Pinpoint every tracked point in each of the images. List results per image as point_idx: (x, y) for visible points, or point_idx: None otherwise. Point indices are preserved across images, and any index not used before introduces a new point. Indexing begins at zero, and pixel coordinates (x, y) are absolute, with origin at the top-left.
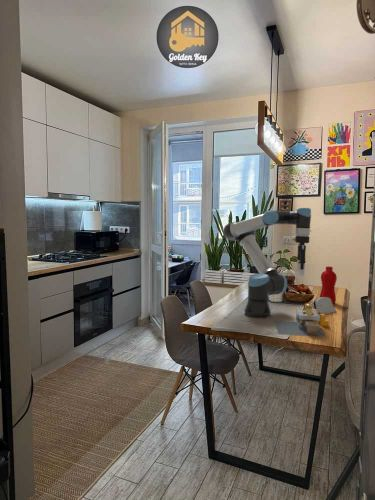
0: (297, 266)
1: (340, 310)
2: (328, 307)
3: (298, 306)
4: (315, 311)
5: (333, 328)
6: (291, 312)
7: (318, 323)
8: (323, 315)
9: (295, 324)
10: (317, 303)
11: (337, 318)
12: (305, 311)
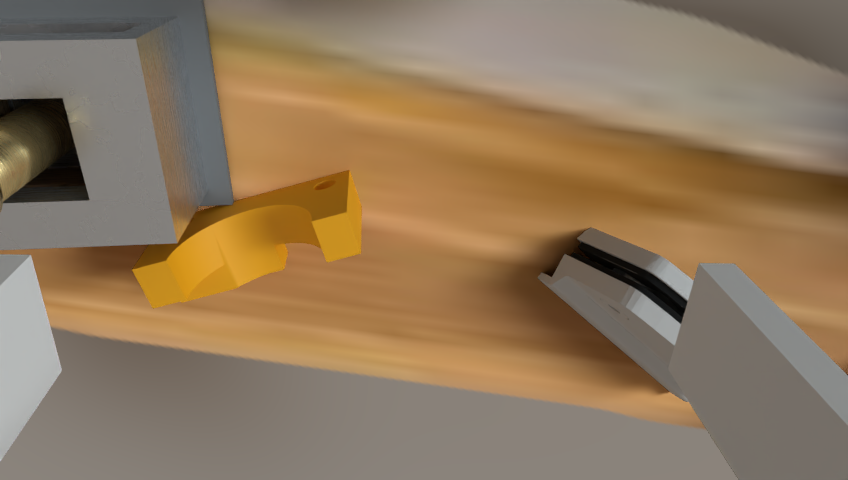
0: (773, 366)
1: (694, 421)
2: (666, 362)
3: (834, 122)
4: (153, 237)
5: None
6: (594, 19)
7: (197, 217)
8: (144, 288)
9: (101, 3)
10: (611, 299)
11: (457, 370)
12: (103, 136)
